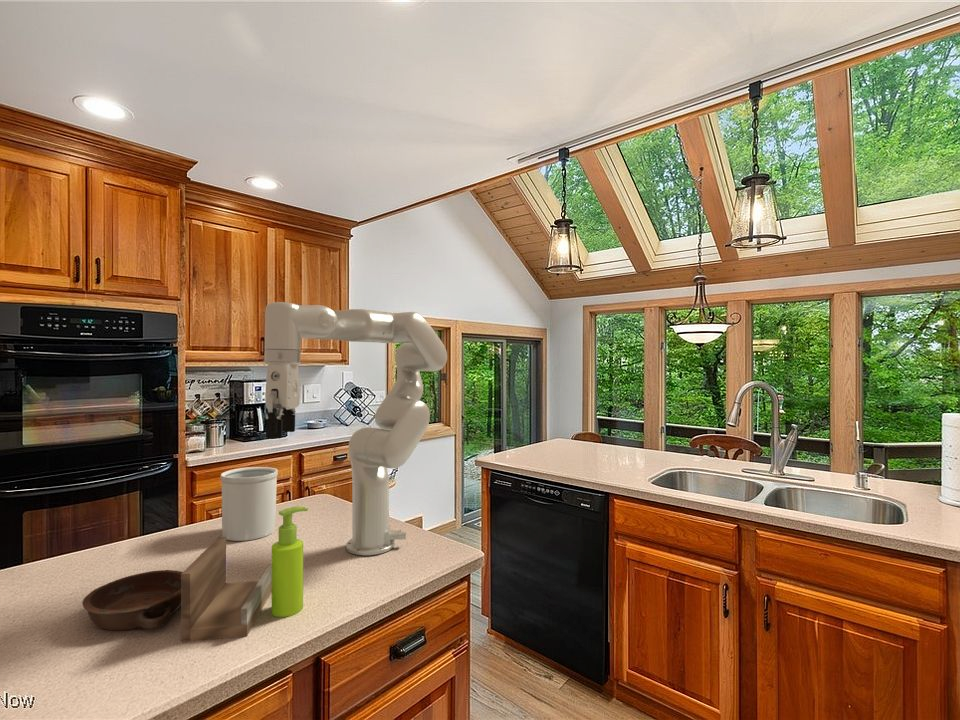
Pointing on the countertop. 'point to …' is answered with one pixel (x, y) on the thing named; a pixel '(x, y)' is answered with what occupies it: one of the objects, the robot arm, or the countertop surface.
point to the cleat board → (219, 598)
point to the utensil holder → (248, 503)
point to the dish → (135, 601)
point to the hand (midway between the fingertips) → (281, 434)
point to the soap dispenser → (287, 568)
